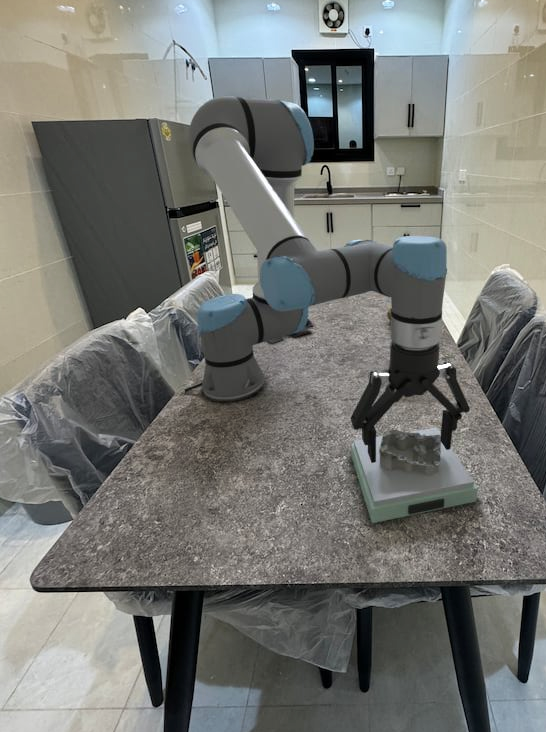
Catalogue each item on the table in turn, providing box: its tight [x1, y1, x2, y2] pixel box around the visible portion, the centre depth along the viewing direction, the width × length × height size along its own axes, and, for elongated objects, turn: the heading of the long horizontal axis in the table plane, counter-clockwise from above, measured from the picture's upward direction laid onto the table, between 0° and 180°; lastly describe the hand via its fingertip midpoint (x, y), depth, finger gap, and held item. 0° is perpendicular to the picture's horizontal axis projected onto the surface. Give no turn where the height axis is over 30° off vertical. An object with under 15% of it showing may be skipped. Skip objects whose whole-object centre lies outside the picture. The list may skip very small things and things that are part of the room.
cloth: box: [267, 318, 314, 345], centre depth 132 cm, size 22×19×6 cm
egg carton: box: [379, 429, 441, 476], centre depth 67 cm, size 11×8×4 cm
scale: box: [350, 426, 479, 524], centre depth 68 cm, size 18×16×4 cm
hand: (409, 451), depth 67 cm, fingers open, 13 cm apart
